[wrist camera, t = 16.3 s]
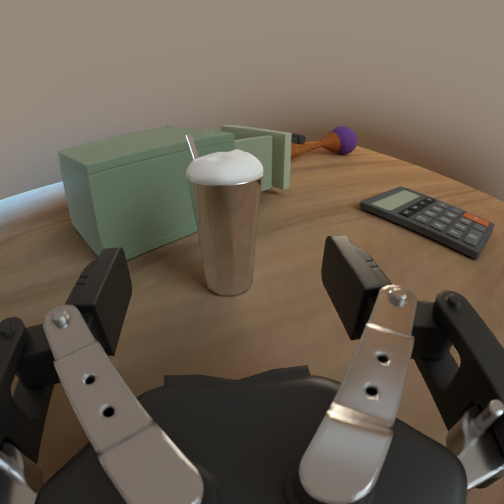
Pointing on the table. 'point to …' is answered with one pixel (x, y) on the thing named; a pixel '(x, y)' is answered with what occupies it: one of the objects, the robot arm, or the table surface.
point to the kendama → (329, 142)
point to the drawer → (267, 151)
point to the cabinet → (135, 187)
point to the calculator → (432, 219)
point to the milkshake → (226, 215)
